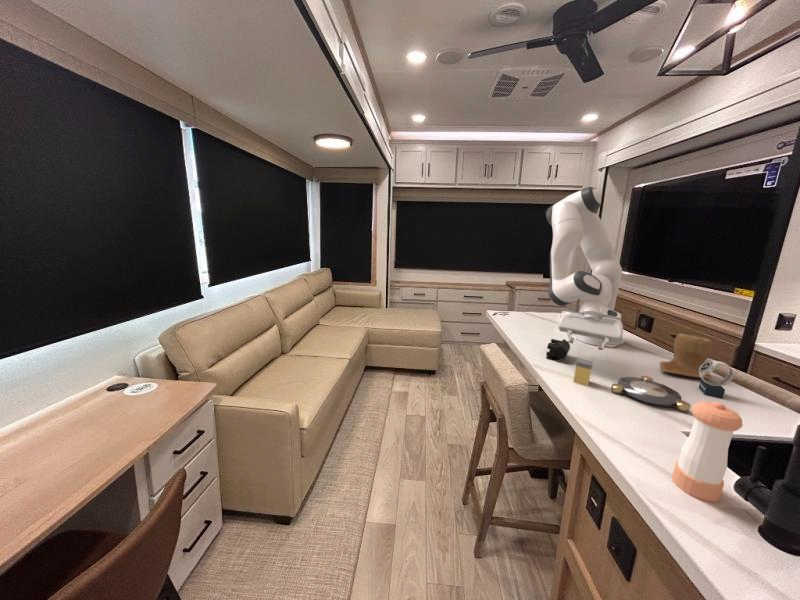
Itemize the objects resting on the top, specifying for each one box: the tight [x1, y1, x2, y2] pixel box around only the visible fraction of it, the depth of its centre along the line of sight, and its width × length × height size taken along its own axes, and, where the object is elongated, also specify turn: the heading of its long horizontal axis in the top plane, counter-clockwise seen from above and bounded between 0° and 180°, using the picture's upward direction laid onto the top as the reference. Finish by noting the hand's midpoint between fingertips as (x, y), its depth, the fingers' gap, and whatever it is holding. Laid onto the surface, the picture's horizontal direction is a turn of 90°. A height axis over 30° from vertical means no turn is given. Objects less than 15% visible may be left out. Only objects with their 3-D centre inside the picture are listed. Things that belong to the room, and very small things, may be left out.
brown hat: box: [659, 333, 713, 380], centre depth 115 cm, size 15×12×15 cm
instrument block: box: [572, 357, 594, 387], centre depth 107 cm, size 4×4×8 cm
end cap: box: [545, 338, 571, 362], centre depth 127 cm, size 10×7×7 cm
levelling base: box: [610, 375, 691, 413], centre depth 98 cm, size 19×19×2 cm
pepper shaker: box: [671, 401, 743, 502], centre depth 62 cm, size 7×7×19 cm
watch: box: [698, 360, 735, 399], centre depth 101 cm, size 6×8×11 cm
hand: (585, 345), depth 111 cm, fingers open, 8 cm apart
